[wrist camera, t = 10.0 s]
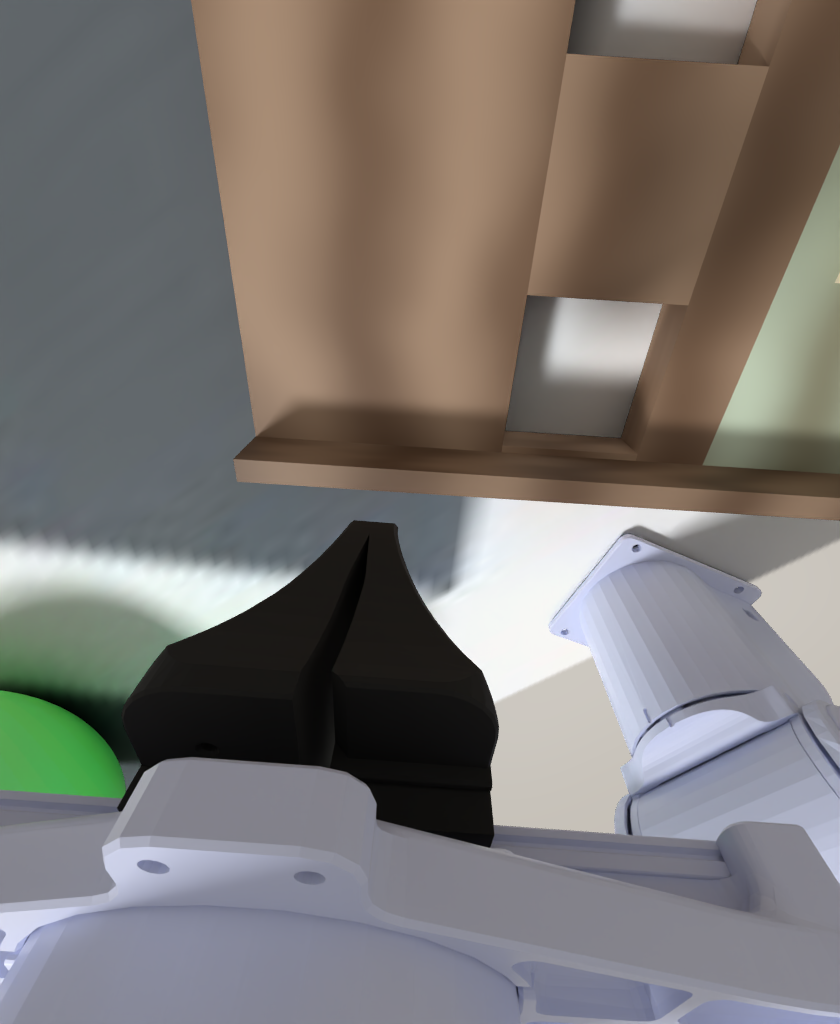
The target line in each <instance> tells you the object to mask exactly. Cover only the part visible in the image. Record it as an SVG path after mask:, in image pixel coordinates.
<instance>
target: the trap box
mask: <svg viewBox="0 0 840 1024" xmlns="http://www.w3.org/2000/svg"><path fill="white" fill-rule="evenodd" d="M191 2H192V9H193V16H194V22H195V29H196V36H197V43H198V49H199V56H200V63H201V70H202V76H203V83H204V90H205V97H206V103H207V110H208V117H209V123H210V130H211V137H212V144H213V150H214V157H215V164H216V171H217V177H218V184H219V191H220V198H221V204H222V211H223V218H224V224H225V231H226V238H227V245H228V251H229V258H230V265H231V272H232V278H233V285H234V292H235V299H236V305H237V312H238V319H239V326H240V332H241V339H242V346H243V352H244V359H245V366H246V373H247V379H248V386H249V393H250V400H251V406H252V413H253V420H254V427H255V433H256V437H255V438H254V439H253V440H252V441H251V442H250V443H249V444H248V445H247V446H246V447H245V448H244V449H243V450H242V451H241V452H240V453H239V454H238V455H237V456H236V457H235V458H234V459H233V461H234V466H235V472H236V477H237V482H251V483H267V484H282V485H298V486H313V487H329V488H344V489H360V490H375V491H390V492H406V493H421V494H437V495H452V496H468V497H483V498H499V499H514V500H530V501H545V502H561V503H576V504H592V505H607V506H623V507H638V508H654V509H669V510H685V511H700V512H716V513H731V514H746V515H762V516H777V517H793V518H808V519H824V520H839V521H840V283H835V281H836V279H837V277H838V275H839V273H840V0H757V3H756V7H755V10H754V13H753V16H752V19H751V23H750V26H749V29H748V32H747V35H746V39H745V42H744V45H743V48H742V52H741V55H740V58H739V61H738V64H737V65H736V64H721V63H705V62H689V61H674V60H658V59H642V58H626V57H611V56H595V55H579V54H567V49H568V43H569V37H570V30H571V24H572V18H573V12H574V6H575V0H191ZM527 295H533V296H549V297H565V298H580V299H596V300H611V301H627V302H643V303H658V304H663V305H662V308H661V311H660V315H659V318H658V321H657V324H656V327H655V331H654V334H653V337H652V340H651V343H650V347H649V350H648V353H647V356H646V360H645V363H644V366H643V369H642V372H641V376H640V379H639V382H638V385H637V388H636V392H635V395H634V398H633V401H632V404H631V408H630V411H629V414H628V417H627V420H626V424H625V427H624V430H623V433H622V437H621V438H609V437H594V436H578V435H563V434H547V433H531V432H516V431H505V427H506V421H507V415H508V409H509V403H510V397H511V391H512V385H513V379H514V372H515V366H516V360H517V354H518V348H519V342H520V336H521V330H522V324H523V317H524V311H525V305H526V299H527Z"/></svg>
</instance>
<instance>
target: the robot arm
mask: <svg viewBox="0 0 840 1024" xmlns="http://www.w3.org/2000/svg"><path fill="white" fill-rule="evenodd" d="M637 544H638V546H637V547H636V548H632V547H633V546H634V545H637ZM737 587H738V588H737ZM735 588H736V589H735ZM760 596H761V590H760V589H759V588H758V587H757V586H755V585H753V584H750V583H748V582H746V581H743V580H741V579H738V578H736V577H734V576H731V575H729V574H726V573H724V572H721V571H719V570H717V569H714V568H712V567H709V566H707V565H705V564H702V563H700V562H697V561H695V560H692V559H690V558H688V557H685V556H683V555H680V554H678V553H676V552H673V551H671V550H668V549H666V548H663V547H661V546H659V545H656V544H654V543H651V542H649V541H647V540H644V539H642V538H639V537H637V536H634V535H632V534H625V535H623V536H621V537H620V538H619V539H618V540H617V542H616V543H615V544H614V545H613V547H612V548H611V549H610V550H609V551H608V553H607V554H606V555H605V556H604V558H603V559H602V560H601V561H600V562H599V564H598V565H597V566H596V567H595V569H594V570H593V571H592V572H591V573H590V575H589V576H588V577H587V578H586V580H585V581H584V582H583V583H582V584H581V586H580V587H579V588H578V589H577V591H576V592H575V593H574V594H573V595H572V597H571V598H570V599H569V600H568V602H567V603H566V604H565V605H564V606H563V608H562V609H561V610H560V611H559V613H558V614H557V615H556V616H555V617H554V619H553V620H552V621H551V622H550V624H549V630H550V632H551V633H552V634H554V635H557V636H560V637H563V638H565V639H568V640H571V641H574V642H577V643H580V644H582V645H585V646H588V647H589V648H590V651H591V653H592V656H593V658H594V661H595V663H596V666H597V669H598V671H599V674H600V676H601V679H602V682H603V684H604V687H605V689H606V692H607V694H608V697H609V699H610V702H611V705H612V707H613V710H614V713H615V715H616V718H617V720H618V723H619V725H620V728H621V730H622V733H623V735H624V738H625V741H626V743H627V746H628V748H629V751H630V754H631V756H632V759H631V760H630V761H629V762H627V763H626V764H625V765H623V766H622V767H621V768H620V769H621V772H622V775H623V777H624V780H625V783H626V786H627V789H628V792H629V794H627V795H626V796H624V797H622V799H621V800H620V801H619V802H618V804H617V807H616V811H615V819H614V823H615V834H611V833H596V832H583V831H570V830H555V829H542V828H541V829H540V828H528V827H513V826H500V825H493V815H492V805H491V795H490V791H491V789H492V776H491V767H490V765H491V761H492V757H493V754H494V750H495V747H496V743H497V740H498V732H499V725H498V718H497V714H496V710H495V706H494V703H493V699H492V696H491V693H490V690H489V687H488V685H487V682H486V680H485V677H484V675H483V673H482V670H481V669H479V668H478V667H477V666H476V665H475V664H474V663H473V662H472V661H471V660H470V659H469V658H468V657H467V656H466V655H465V654H464V653H463V652H462V651H461V650H460V649H459V648H458V647H457V646H456V645H455V644H454V643H453V641H452V640H451V639H450V638H449V637H448V636H447V634H446V633H445V632H444V630H443V629H442V628H441V627H440V625H439V624H438V623H437V621H436V620H435V619H434V617H433V616H432V614H431V613H430V611H429V610H428V608H427V607H426V605H425V603H424V602H423V600H422V598H421V597H420V595H419V593H418V591H417V589H416V587H415V585H414V583H413V581H412V579H411V577H410V574H409V572H408V569H407V567H406V564H405V561H404V558H403V556H402V552H401V549H400V545H399V540H398V527H397V526H396V525H395V524H393V523H380V522H367V521H353V522H351V523H350V524H349V525H348V527H347V528H346V529H345V530H344V531H343V533H342V534H341V535H340V536H339V537H338V538H337V539H336V540H335V541H334V543H333V544H332V545H331V546H330V547H329V548H328V549H327V550H326V551H325V552H324V553H323V554H322V555H321V556H320V557H319V558H318V559H317V560H316V561H315V562H313V563H312V564H311V565H310V566H309V567H308V568H307V569H306V570H304V571H303V572H302V573H301V574H300V575H299V576H297V577H296V578H295V579H294V580H293V581H291V582H290V583H289V584H287V585H286V586H285V587H283V588H282V589H280V590H279V591H278V592H276V593H275V594H273V595H272V596H270V597H268V598H267V599H265V600H263V601H262V602H260V603H258V604H257V605H255V606H253V607H252V608H250V609H248V610H247V611H245V612H243V613H241V614H239V615H237V616H235V617H233V618H231V619H229V620H227V621H225V622H223V623H221V624H219V625H217V626H215V627H212V628H210V629H208V630H206V631H203V632H201V633H198V634H196V635H193V636H191V637H188V638H186V639H183V640H181V641H178V642H176V643H173V644H170V645H168V646H167V647H166V648H165V649H164V651H163V652H162V653H161V654H160V655H159V657H158V658H157V659H156V660H155V661H154V663H153V664H152V665H151V667H150V668H149V670H148V671H147V672H146V674H145V675H144V677H143V678H142V680H141V681H140V682H139V684H138V685H137V687H136V688H135V690H134V691H133V693H132V694H131V696H130V697H129V698H128V700H127V701H126V703H125V704H124V706H123V711H122V715H121V716H122V720H123V724H124V728H125V730H126V732H127V734H128V737H129V739H130V741H131V743H132V745H133V747H134V749H135V751H136V754H137V756H138V758H139V760H140V762H141V764H142V765H141V767H140V769H139V770H138V772H137V774H136V775H135V777H134V779H133V781H132V782H131V784H130V786H129V788H128V789H127V791H126V793H125V795H124V796H123V798H109V797H95V796H81V795H67V794H53V793H39V792H25V791H11V790H0V1024H840V706H836V705H834V704H833V702H832V699H831V697H830V696H829V694H828V692H827V690H826V689H825V687H824V686H823V685H822V684H821V682H820V681H819V680H818V679H817V678H816V677H815V676H814V675H813V673H812V672H811V671H810V670H809V669H808V668H807V667H806V666H805V664H803V662H802V661H801V660H800V659H799V658H798V657H797V656H796V654H795V653H794V652H793V651H792V650H791V649H790V648H789V647H788V646H787V645H786V644H785V642H784V641H783V640H782V639H781V638H780V637H779V636H778V634H776V632H775V631H774V630H773V629H772V628H771V627H770V626H769V625H768V623H767V622H766V621H765V620H764V619H763V618H762V617H761V616H760V614H759V613H758V612H757V611H756V610H755V609H754V608H753V607H752V606H751V605H752V604H753V603H754V602H755V601H756V600H757V599H758V598H759V597H760ZM564 629H566V630H564Z"/></svg>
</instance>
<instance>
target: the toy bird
mask: <svg viewBox="0 0 840 1024" xmlns="http://www.w3.org/2000/svg"><path fill="white" fill-rule="evenodd" d="M0 790H11V791H25V792H39V793H53V794H67V795H81V796H95V797H109V798H123V796H124V795H125V793H126V787H125V780H124V776H123V772H122V769H121V767H120V764H119V762H118V760H117V758H116V756H115V754H114V753H113V751H112V749H111V748H110V747H109V745H108V744H107V743H106V741H105V740H104V739H103V738H102V737H101V736H100V735H99V734H98V733H97V732H96V731H95V730H94V729H93V728H92V727H91V726H90V725H88V724H87V723H86V722H85V721H83V720H82V719H80V718H79V717H77V716H76V715H74V714H72V713H71V712H69V711H67V710H65V709H63V708H61V707H59V706H57V705H54V704H52V703H49V702H47V701H44V700H41V699H38V698H35V697H31V696H27V695H23V694H19V693H14V692H7V691H0Z"/></svg>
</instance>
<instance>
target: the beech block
mask: <svg viewBox="0 0 840 1024" xmlns="http://www.w3.org/2000/svg"><path fill="white" fill-rule="evenodd" d="M835 283H840V273H839V275H838V277H837V279H836V281H835Z"/></svg>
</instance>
